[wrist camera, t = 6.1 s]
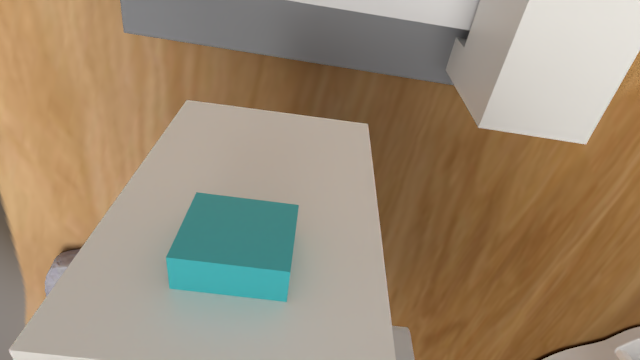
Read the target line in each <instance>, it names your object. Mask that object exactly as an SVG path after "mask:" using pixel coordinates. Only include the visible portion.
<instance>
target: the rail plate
mask: <svg viewBox="0 0 640 360" xmlns="http://www.w3.org/2000/svg"><path fill="white" fill-rule="evenodd" d="M120 2H121V11H122V20H123V28H124V33H130V34H136V35H142V36H149V37H155V38H161V39H167V40H174V41H180V42H186V43H193V44H199V45H205V46H211V47H218V48H224V49H230V50H236V51H243V52H249V53H255V54H261V55H268V56H274V57H280V58H286V59H293V60H299V61H305V62H311V63H318V64H324V65H330V66H336V67H343V68H349V69H355V70H361V71H368V72H374V73H380V74H386V75H393V76H399V77H405V78H412V79H418V80H424V81H430V82H437V83H443V84H449V85H454V84H453V82H452V81H451V79H450V77H449V75H448V74H447V72H446V67H447V64H448V61H449V58H450V54H451V51H452V48H453V45H454V42H455V39H456V37H457V38H463V39H467V38H468V35H469V32H470V29H471V26H472V23H473V20H474V17H475V14H476V11H477V8H478V5H479V2H480V0H120Z"/></svg>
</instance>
